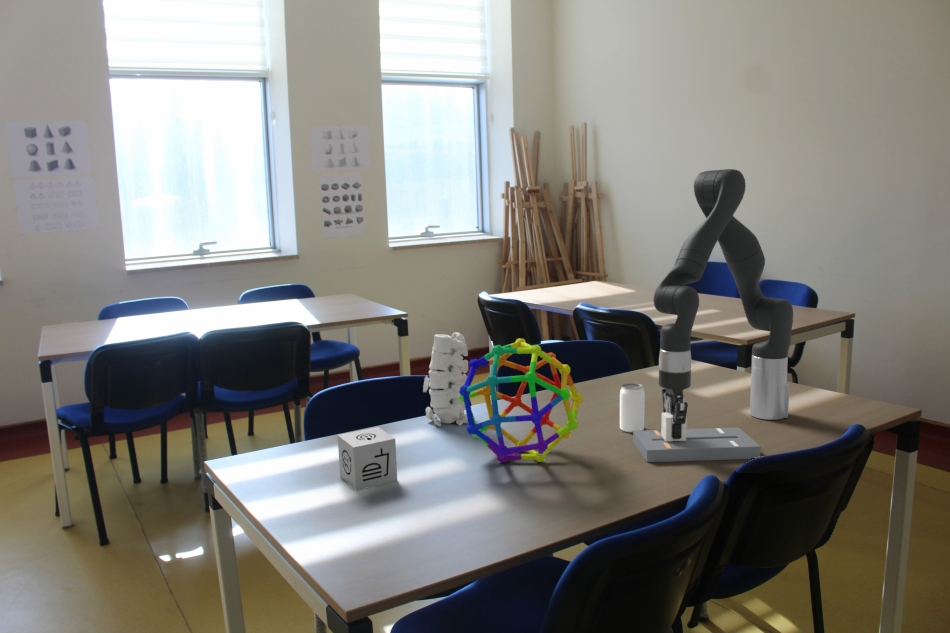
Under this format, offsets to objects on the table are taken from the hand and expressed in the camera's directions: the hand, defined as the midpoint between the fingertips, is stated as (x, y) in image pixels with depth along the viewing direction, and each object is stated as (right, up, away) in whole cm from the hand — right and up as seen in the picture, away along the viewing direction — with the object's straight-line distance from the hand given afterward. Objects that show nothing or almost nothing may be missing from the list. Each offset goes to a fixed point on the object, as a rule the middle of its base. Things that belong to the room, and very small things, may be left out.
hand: (673, 434), depth 179 cm
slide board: (+5, -4, +1) cm, 7 cm away
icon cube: (-73, -8, -11) cm, 75 cm away
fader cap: (0, -1, 0) cm, 1 cm away
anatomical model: (-56, -1, +29) cm, 63 cm away
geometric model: (-38, -6, -2) cm, 39 cm away
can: (-6, -1, +17) cm, 19 cm away
